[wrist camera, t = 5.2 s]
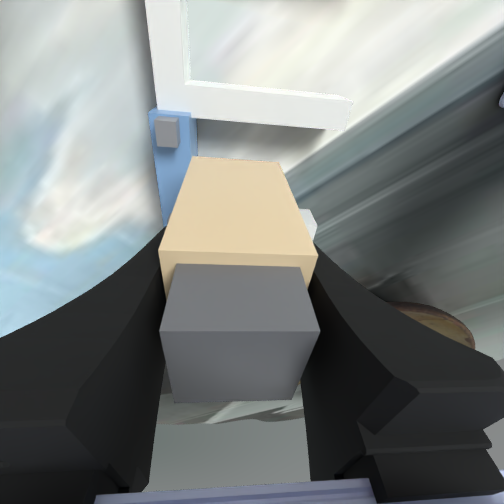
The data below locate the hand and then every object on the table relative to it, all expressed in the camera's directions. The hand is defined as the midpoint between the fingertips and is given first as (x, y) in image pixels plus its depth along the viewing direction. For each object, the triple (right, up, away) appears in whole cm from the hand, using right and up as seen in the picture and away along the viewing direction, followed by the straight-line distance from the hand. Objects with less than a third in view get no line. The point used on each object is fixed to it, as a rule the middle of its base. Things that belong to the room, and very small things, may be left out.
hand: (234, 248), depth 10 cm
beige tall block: (0, +3, +3) cm, 4 cm away
